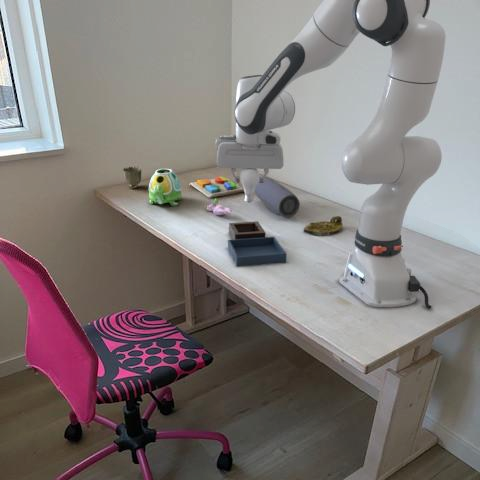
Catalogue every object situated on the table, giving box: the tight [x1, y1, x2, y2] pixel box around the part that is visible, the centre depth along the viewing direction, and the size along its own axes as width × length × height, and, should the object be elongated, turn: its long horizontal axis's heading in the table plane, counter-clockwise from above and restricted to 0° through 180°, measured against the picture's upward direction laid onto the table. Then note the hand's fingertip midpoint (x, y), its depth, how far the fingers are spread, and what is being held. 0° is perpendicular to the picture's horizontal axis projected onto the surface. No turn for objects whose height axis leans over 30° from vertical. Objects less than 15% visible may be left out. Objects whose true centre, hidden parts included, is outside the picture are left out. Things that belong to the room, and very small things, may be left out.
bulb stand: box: [228, 220, 266, 240], centre depth 166 cm, size 10×10×4 cm
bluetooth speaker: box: [254, 176, 301, 218], centre depth 188 cm, size 23×9×10 cm, turn 22°
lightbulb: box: [238, 168, 261, 204], centre depth 156 cm, size 6×6×11 cm
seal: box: [303, 215, 344, 236], centre depth 173 cm, size 9×5×15 cm
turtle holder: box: [148, 168, 182, 207], centre depth 191 cm, size 12×18×12 cm
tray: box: [227, 236, 287, 267], centre depth 155 cm, size 13×15×3 cm
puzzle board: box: [188, 175, 245, 199], centre depth 209 cm, size 18×19×4 cm
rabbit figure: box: [205, 197, 232, 216], centre depth 184 cm, size 6×6×15 cm
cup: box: [122, 166, 142, 190], centre depth 208 cm, size 8×7×8 cm
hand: (249, 182), depth 156 cm, fingers closed on lightbulb, 6 cm apart
